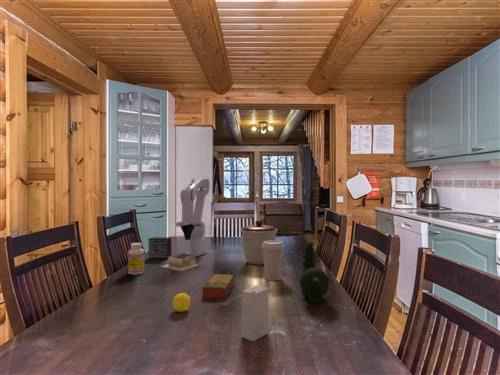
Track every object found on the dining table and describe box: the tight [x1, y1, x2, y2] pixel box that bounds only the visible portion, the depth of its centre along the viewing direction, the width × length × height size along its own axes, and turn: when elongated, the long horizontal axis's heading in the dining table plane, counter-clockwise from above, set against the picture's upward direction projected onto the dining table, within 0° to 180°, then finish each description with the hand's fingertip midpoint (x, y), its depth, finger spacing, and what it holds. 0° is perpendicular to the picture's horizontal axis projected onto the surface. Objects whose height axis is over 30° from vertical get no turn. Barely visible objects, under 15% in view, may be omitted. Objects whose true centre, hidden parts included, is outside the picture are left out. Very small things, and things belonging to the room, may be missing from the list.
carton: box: [202, 273, 234, 300], centre depth 121 cm, size 8×16×4 cm, turn 173°
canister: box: [240, 219, 278, 266], centre depth 163 cm, size 18×18×21 cm
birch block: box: [168, 253, 197, 268], centre depth 157 cm, size 4×8×10 cm
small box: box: [147, 236, 173, 260], centre depth 174 cm, size 11×6×10 cm, turn 84°
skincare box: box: [241, 285, 269, 342], centre depth 85 cm, size 6×4×12 cm
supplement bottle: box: [127, 242, 145, 276], centre depth 145 cm, size 7×7×13 cm
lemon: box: [171, 292, 191, 313], centre depth 102 cm, size 7×5×5 cm
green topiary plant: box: [299, 241, 330, 304], centre depth 115 cm, size 9×19×25 cm
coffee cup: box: [261, 239, 285, 281], centre depth 136 cm, size 10×10×15 cm
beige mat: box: [160, 263, 199, 272], centre depth 155 cm, size 11×13×1 cm
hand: (187, 239), depth 168 cm, fingers closed
